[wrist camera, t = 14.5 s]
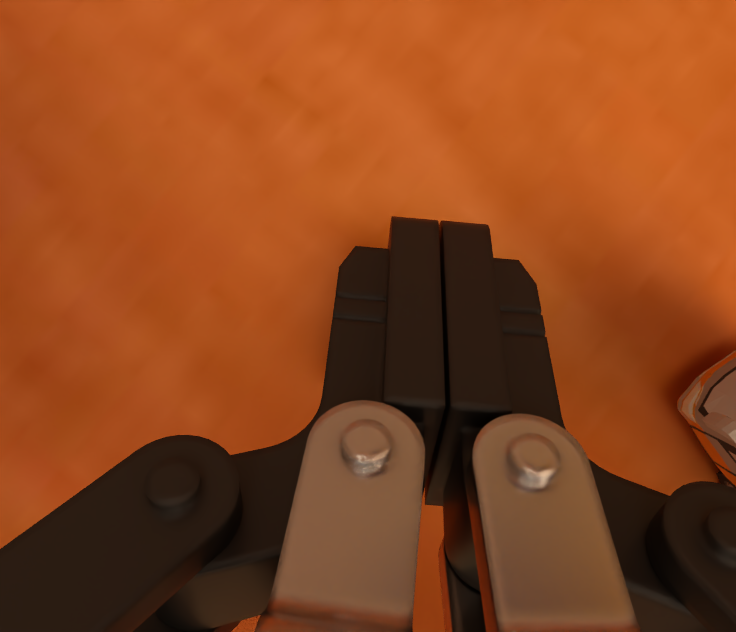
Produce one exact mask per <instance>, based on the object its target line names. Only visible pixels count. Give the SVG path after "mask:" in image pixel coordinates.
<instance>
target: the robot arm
mask: <svg viewBox="0 0 736 632" xmlns="http://www.w3.org/2000/svg"><path fill="white" fill-rule="evenodd" d="M424 488H425V505H437V506H443V514H444V536H443V540H442V543H441V546H440V549H439V555H438V556H439V573H440V583H441V593H442V603H443V613H444V623H445V632H736V489H735V488H733V487H730V486H727V485H724V484H720V483H715V482H704V481H700V482H692V483H689V484H686V485H683V486H681V487H680V488H678V489H677V490H675V491H674V492H673V493H672V494H671V496H668V495H665V494H663V493H660V492H658V491H655V490H652V489H650V488H647V487H644V486H642V485H639V484H636V483H634V482H631V481H628V480H626V479H623V478H621V477H618V476H616V475H614V474H612V473H609V472H608V471H606V470H604V469H602V468H601V467H599V466H598V465H596V464H595V463H594V462H592V461H591V460H589V459H588V458H587V455H586V453H585V452H584V450H583V448H582V447H581V445H580V444H579V443H578V441H577V440H576V439H575V438H574V437H573V436H572V435H571V434H570V433H569V432H568V431H566V429H565V426H564V423H563V420H562V416H561V411H560V405H559V400H558V395H557V390H556V385H555V379H554V374H553V369H552V364H551V358H550V353H549V348H548V343H547V337H545V327H544V322H543V316H542V315H541V306H540V301H539V296H538V290H537V285H536V283H535V282H534V280H533V279H532V278H531V276H530V275H529V274H528V272H527V271H526V270H525V268H524V267H523V265H522V264H521V263H520V261H519V260H511V259H500V258H493V252H492V244H491V236H490V229H489V226H488V225H486V224H474V223H463V222H452V221H441V222H440V225H439V223H438V220H427V219H416V218H404V217H393V216H392V218H391V225H390V234H389V242H388V249H384V248H373V247H361V246H355V247H354V249H353V250H352V251H351V253H350V254H349V255H348V256H347V258H346V259H345V260H344V262H343V263H342V264H341V265H340V267H339V272H338V280H337V288H336V297H335V303H334V310H333V319H332V325H331V333H330V341H329V348H328V356H327V363H326V371H325V378H324V386H323V394H322V399H321V404H320V407H319V409H318V411H317V413H316V415H315V416H314V418H313V420H312V421H311V422H310V423H309V424H308V425H307V427H306V428H305V429H303V430H302V431H301V432H300V433H298V434H297V435H296V436H294V437H292V438H291V439H289V440H287V441H285V442H282V443H280V444H278V445H274V446H271V447H267V448H263V449H258V450H253V451H248V452H244V453H239V454H234V455H229V454H228V452H227V451H226V450H225V449H224V448H222V447H221V446H220V445H218V444H217V443H215V442H213V441H211V440H209V439H206V438H202V437H199V436H192V435H176V436H169V437H165V438H162V439H158V440H155V441H153V442H151V443H149V444H147V445H145V446H143V447H142V448H140V449H138V450H137V451H135V452H134V453H133V454H131V455H130V456H128V457H127V458H126V459H124V460H123V461H122V462H120V463H119V464H117V465H116V466H115V467H113V468H112V469H110V470H109V471H108V472H106V473H105V474H104V475H102V476H101V477H99V478H98V479H97V480H95V481H94V482H92V483H91V484H90V485H88V486H87V487H86V488H84V489H83V490H81V491H80V492H79V493H77V494H76V495H75V496H73V497H72V498H70V499H69V500H68V501H66V502H65V503H63V504H62V505H61V506H59V507H58V508H57V509H55V510H54V511H52V512H51V513H50V514H48V515H47V516H45V517H44V518H43V519H41V520H40V521H39V522H37V523H36V524H34V525H33V526H32V527H30V528H29V529H28V530H26V531H25V532H23V533H22V534H21V535H19V536H18V537H16V538H15V539H14V540H12V541H11V542H10V543H8V544H7V545H5V546H4V547H3V548H1V549H0V632H231V631H232V630H233V629H234V628H235V627H236V626H237V625H238V624H239V623H240V621H241V620H244V619H247V618H251V617H255V616H258V615H261V616H260V618H259V620H258V623H257V626H256V628H255V632H413V631H412V621H413V604H414V592H415V579H416V566H417V554H418V541H419V528H420V516H421V503H422V496H423V492H424Z"/></svg>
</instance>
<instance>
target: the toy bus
mask: <svg viewBox="0 0 736 632" xmlns="http://www.w3.org/2000/svg"><path fill="white" fill-rule="evenodd" d="M677 409H678V410H679V412H680V413H681V415H682V416H683V417H684V418H685V419H686V421H687V422H688V423H689V425H690V427H691V428H692V430H693V432H694V434H695V435H696V437H697V439H698V440H699V442H700V444H701V445H702V447H703V448H704V450H705V451H706V453H707V454H708V455H709V457H710V458H711V460H712V461H713V462H714V464H715V465H716V466H717V467H718V468H719V469H720V471H719V472H718V473H717V476H718V479H719V481H720V483H721V484H724V485H727V486H730V487H733V488H735V489H736V350H735V351H733V352H732V353H730V354H729V355H727V356H726V357H724V358H723V359H722V360H720V361H719V362H717V363H716V364H714V365H713V366H711V367H710V368H708V369H707V370H705V371H704V372H703V373H701V374H700V375H699V376H698V377H697V378H696V379H695V380H694V381H693V382H692V384H691V385H690V386H689V387H688V388H687V389H686V391H685V392H684V393H683V394H682V395H681V396H680V398H679V399H678V400H677Z"/></svg>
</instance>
